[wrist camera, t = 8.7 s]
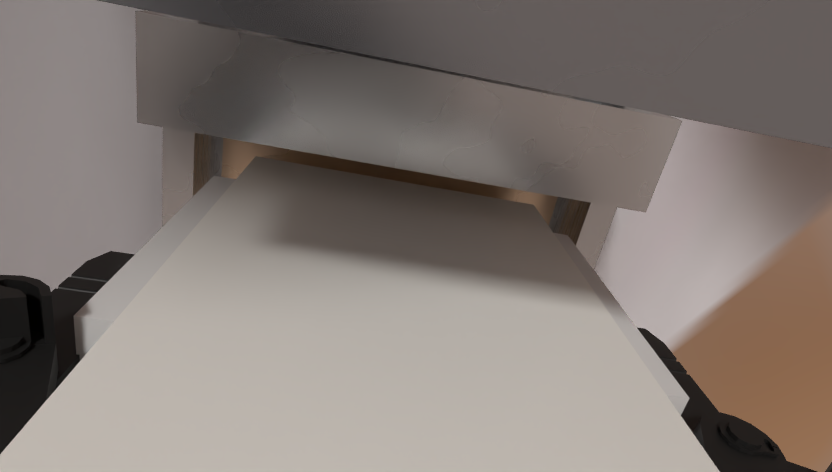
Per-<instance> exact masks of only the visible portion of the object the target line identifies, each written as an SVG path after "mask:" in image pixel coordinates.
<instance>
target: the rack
mask: <svg viewBox="0 0 832 472" xmlns="http://www.w3.org/2000/svg"><path fill="white" fill-rule="evenodd" d="M99 1H103V2H108V3H113V4H118V5H123V6H128V7H133V8H138V9H143V10H148V11H135V14H136V78H137V123H143V124H149V125H154V126H160V127H163V192H162V227H163V226H164V225H165V224H166V223H167V222H168V221H169V220H170V219H171V218H172V217H173V216H174V215H175V214H176V213H177V212H178V211H179V210H180V209H181V208H182V207H183V206H184V205H185V204H186V203H187V202H188V201H189V200H190V199H191V198H192V197H193V196H194V195H195V194H196V193H197V192H198V191H199V190H200V189H201V188H202V187H203V186H204V185H205V184H206V183H207V182H208V181H209V180H210V179H211V178H212V177H213V176H219V177H225V178H231V179H237V177H238V176H239V175H240V174H241V173H242V172H243V170H244V169H245V168H246V167H247V166H248V165H249V163H250V162H251V161H252V160H253V159H254V158H255V156H257V157H263V158H269V159H275V160H280V161H286V162H292V163H298V164H303V165H309V166H315V167H320V168H326V169H332V170H338V171H343V172H349V173H355V174H361V175H366V176H372V177H378V178H384V179H389V180H395V181H401V182H406V183H412V184H418V185H424V186H429V187H435V188H441V189H447V190H452V191H458V192H464V193H470V194H475V195H481V196H487V197H493V198H498V199H504V200H510V201H515V202H521V203H527V204H533V205H534V206H535V207H536V209H537V210H538V211H539V213H540V214H541V216H542V217H543V219H544V220H545V221H546V223H547V224H548V226H549V227H550V229H551V230H552V232H553V233H558V234H564V235H568V236H569V238H570V239H571V240H572V242H573V243H574V244H575V246H576V247H577V248H578V250H579V251H580V252H581V254H582V255H583V256H584V258H585V259H586V260H587V262H588V263H589V264H590V266H591V267H592V269H593V270H594V268H595V265H596V262H597V260H598V257H599V254H600V252H601V249H602V246H603V244H604V241H605V238H606V236H607V233H608V230H609V228H610V225H611V222H612V220H613V217H614V214H615V212H616V209H617V207H619V208H624V209H630V210H636V211H641V212H646V211H647V208H648V206H649V203H650V201H651V198H652V196H653V193H654V191H655V188H656V185H657V183H658V180H659V178H660V175H661V173H662V170H663V168H664V165H665V163H666V160H667V158H668V155H669V153H670V150H671V148H672V145H673V143H674V140H675V138H676V135H677V133H678V130H679V128H680V125H681V123H682V121H681V120H679V119H677V118H674V117H672V116H675V117H680V118H685V119H690V120H695V121H699V122H704V123H709V124H714V125H719V126H724V127H729V128H734V129H739V130H744V131H749V132H754V133H759V134H764V135H769V136H774V137H779V138H784V139H789V140H794V141H799V142H804V143H809V144H814V145H819V146H824V147H829V148H832V0H99ZM669 115H670V116H669Z"/></svg>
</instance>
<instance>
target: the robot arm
mask: <svg viewBox="0 0 832 472" xmlns="http://www.w3.org/2000/svg"><path fill="white" fill-rule="evenodd" d="M235 180H236V179H231V178H225V177H219V176H213V177H212V178H211V179H210V180H209V181H208V182H207V183H206V184H205V185H204V186H203V187H202V188H201V189H200V190H199V191H198V192H197V193H196V194H195V195H194V196H193V197H192V198H191V199H190V200H189V201H188V202H187V203H186V204H185V205H184V206H183V207H182V208H181V209H180V210H179V211H178V212H177V213H176V214H175V215H174V216H173V217H172V218H171V219H170V220H169V221H168V222H167V223H166V224H165V225H164V226H163V227H162V228H161V229H160V230H159V231H158V232H157V233H156V234H155V235H154V236H153V237H152V238H151V239H150V240H149V241H148V242H147V243H146V244H145V245H144V246H143V247H142V248H141V249H140V250H139V251H138V252H137V253H136V254H135V255H134V254H127V253H120V252H113V251H110V252H108V253H105V254H103V255H101V256H98V257H96V258H93V259H91V260H88V261H87V262H85V263H84V264H83V265H82V266H81V267H80V268H78V269H77V270H76V271H75V272H74V273H73V274H72V276H71V277H68V278H67V279H66V280H65V281H63V282H62V283H61V284H60V285H59V287H58V289H54V290H53V291H52V292H51V291H50V287H49V286H48V285H46V284H45V283H43V282H42V281H40V280H38V279H34V278H30V277H26V276H15V275H0V454H1V453H2V452H3V450H4V449H5V448H6V447H7V446H8V445H9V443H10V442H11V441H12V440H13V439H14V438H15V436H16V435H17V434H18V433H19V432H20V431H21V429H22V428H23V427H24V426H25V425H26V424H27V422H28V421H29V420H30V419H31V418H32V417H33V415H34V414H35V413H36V412H37V411H38V410H39V408H40V407H41V406H42V405H43V404H44V403H45V401H46V400H47V399H48V398H49V397H50V396H51V394H52V393H53V392H54V391H55V390H56V389H57V387H58V386H59V385H60V384H61V383H62V382H63V380H64V379H65V378H66V377H67V376H68V375H69V373H70V372H71V371H72V370H73V369H74V368H75V366H76V365H77V364H78V363H79V362H80V361H81V359H82V358H83V357H84V356H85V355H86V354H87V352H88V351H89V350H90V349H91V348H92V347H93V345H94V344H95V343H96V342H97V341H98V340H99V338H100V337H101V336H102V335H103V334H104V333H105V331H106V330H107V329H108V328H109V327H110V326H111V324H112V323H113V322H114V321H115V320H116V319H117V317H118V316H119V315H120V314H121V313H122V312H123V310H124V309H125V308H126V307H127V306H128V305H129V303H130V302H131V301H132V300H133V299H134V298H135V296H136V295H137V294H138V293H139V292H140V291H141V289H142V288H143V287H144V286H145V285H146V284H147V282H148V281H149V280H150V279H151V278H152V277H153V275H154V274H155V273H156V272H157V271H158V270H159V268H160V267H161V266H162V265H163V264H164V263H165V261H166V260H167V259H168V258H169V257H170V256H171V254H172V253H173V252H174V251H175V250H176V249H177V247H178V246H179V245H180V244H181V243H182V242H183V240H184V239H185V238H186V237H187V236H188V235H189V233H190V232H191V231H192V230H193V229H194V228H195V226H196V225H197V224H198V223H199V222H200V221H201V219H202V218H203V217H204V216H205V215H206V214H207V212H208V211H209V210H210V209H211V208H212V207H213V205H214V204H215V203H216V202H217V201H218V200H219V198H220V197H221V196H222V195H223V194H224V193H225V191H226V190H227V189H228V188H229V187H230V186H231V184H232V183H233V182H234V181H235ZM554 234H555V236H556V237H557V239H558V240H559V242H560V243H561V244H562V246H563V247H564V249H565V250H566V252H567V253H568V255H569V256H570V257H571V259H572V260H573V262H574V263H575V265H576V266H577V267H578V269H579V270H580V272H581V273H582V275H583V276H584V277H585V279H586V280H587V282H588V283H589V285H590V286H591V288H592V289H593V290H594V292H595V293H596V295H597V296H598V298H599V299H600V300H601V302H602V303H603V305H604V306H605V308H606V309H607V311H608V312H609V313H610V315H611V316H612V318H613V319H614V321H615V322H616V323H617V325H618V326H619V328H620V329H621V331H622V332H623V333H624V335H625V336H626V338H627V339H628V341H629V342H630V344H631V345H632V346H633V348H634V349H635V351H636V352H637V354H638V355H639V356H640V358H641V359H642V361H643V362H644V364H645V365H646V367H647V368H648V369H649V371H650V372H651V374H652V375H653V377H654V378H655V379H656V381H657V382H658V384H659V385H660V387H661V388H662V389H663V391H664V392H665V394H666V395H667V397H668V398H669V400H670V401H671V402H672V404H673V405H674V407H675V408H676V410H677V411H678V412H679V414H680V415H681V417H682V418H683V420H684V421H685V423H686V424H687V425H688V427H689V428H690V430H691V431H692V433H693V434H694V435H695V437H696V438H697V440H698V441H699V443H700V444H701V445H702V447H703V448H704V450H705V451H706V453H707V454H708V456H709V457H710V458H711V460H712V461H713V463H714V464H715V466H716V467H717V468H718V470H719V471H720V472H817V471H814V470H811V469H808V468H805V467H802V466H800V465H797V464H794V463H791V462H788V461H786V459H785V457H784V455H783V453H782V452H781V450H780V449H779V447H778V445H777V444H775V443H774V442H773V441H772V440H771V439H770V438H769V437H768V436H767V435H766V434H765V433H763V432H762V431H760V430H759V429H757V428H756V427H754V426H753V425H752V424H750V423H748V422H746V421H743V420H741V419H739V418H737V417H735V416H731V415H727V414H724V413H719V412H718V410H717V409H716V408H715V407H714V405H713V404H712V403H711V401H710V400H709V399H708V398H707V396H706V395H705V394H704V393H703V391H702V390H701V389H700V388H699V386H698V385H697V384H696V383H695V381H694V380H693V379H692V378H691V376H690V375H687V374H686V372H687V371H686V370H685V369H684V368H683V366H682V365H681V364H680V362H676V357H675V356H674V355H673V354H672V352H671V351H670V350H669V349H668V347H667V346H666V345H665V344H664V343H663V342H662V341H661V340H659V339H658V338H657V337H655V336H654V335H653V334H651V333H650V332H649V331H648V330H646V329H643V328H637V327H636V326H635V325H634V323H633V322H632V321H631V319H630V318H629V317H628V315H627V314H626V313H625V311H624V310H623V309H622V307H621V306H620V305H619V303H618V302H617V301H616V299H615V298H614V297H613V295H612V294H611V293H610V291H609V290H608V289H607V287H606V286H605V285H604V283H603V282H602V281H601V279H600V278H599V277H598V275H597V274H596V273H595V271H594V270H593V269H592V267H591V266H590V264H589V263H588V262H587V260H586V259H585V258H584V256H583V255H582V254H581V252H580V251H579V250H578V248H577V247H576V246H575V244H574V243H573V242H572V240H571V239H570V238H569V236H568V235H564V234H558V233H554ZM825 472H832V463H831V464H830V465H829V467H828V468H827V470H826V471H825Z"/></svg>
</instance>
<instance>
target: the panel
mask: <svg viewBox="0 0 832 472" xmlns="http://www.w3.org/2000/svg"><path fill="white" fill-rule="evenodd" d="M0 472H720V471H719V470H718V468H717V467H716V466H715V464H714V463H713V461H712V460H711V458H710V457H709V456H708V454H707V453H706V451H705V450H704V448H703V447H702V445H701V444H700V443H699V441H698V440H697V438H696V437H695V435H694V434H693V433H692V431H691V430H690V428H689V427H688V425H687V424H686V423H685V421H684V420H683V418H682V417H681V415H680V414H679V412H678V411H677V410H676V408H675V407H674V405H673V404H672V402H671V401H670V400H669V398H668V397H667V395H666V394H665V392H664V391H663V389H662V388H661V387H660V385H659V384H658V382H657V381H656V379H655V378H654V377H653V375H652V374H651V372H650V371H649V369H648V368H647V367H646V365H645V364H644V362H643V361H642V359H641V358H640V356H639V355H638V354H637V352H636V351H635V349H634V348H633V346H632V345H631V344H630V342H629V341H628V339H627V338H626V336H625V335H624V333H623V332H622V331H621V329H620V328H619V326H618V325H617V323H616V322H615V321H614V319H613V318H612V316H611V315H610V313H609V312H608V311H607V309H606V308H605V306H604V305H603V303H602V302H601V300H600V299H599V298H598V296H597V295H596V293H595V292H594V290H593V289H592V288H591V286H590V285H589V283H588V282H587V280H586V279H585V277H584V276H583V275H582V273H581V272H580V270H579V269H578V267H577V266H576V265H575V263H574V262H573V260H572V259H571V257H570V256H569V255H568V253H567V252H566V250H565V249H564V247H563V246H562V244H561V243H560V242H559V240H558V239H557V237H556V236H555V234H554V233H553V232H552V230H551V229H550V227H549V226H548V224H547V223H546V221H545V220H544V219H543V217H542V216H541V214H540V213H539V211H538V210H537V209H536V207H535V206H534V205H533V204H527V203H521V202H515V201H510V200H504V199H498V198H493V197H487V196H481V195H475V194H470V193H464V192H458V191H452V190H447V189H441V188H435V187H429V186H424V185H418V184H412V183H406V182H401V181H395V180H389V179H384V178H378V177H372V176H366V175H361V174H355V173H349V172H343V171H338V170H332V169H326V168H320V167H315V166H309V165H303V164H298V163H292V162H286V161H280V160H275V159H269V158H263V157H257V156H255V158H254V159H253V160H252V161H251V162H250V163H249V165H248V166H247V167H246V168H245V169H244V170H243V172H242V173H241V174H240V175H239V176H238V177H237V179H236V180H235V181H234V182H233V183H232V184H231V186H230V187H229V188H228V189H227V190H226V191H225V193H224V194H223V195H222V196H221V197H220V198H219V200H218V201H217V202H216V203H215V204H214V205H213V207H212V208H211V209H210V210H209V211H208V212H207V214H206V215H205V216H204V217H203V218H202V219H201V221H200V222H199V223H198V224H197V225H196V226H195V228H194V229H193V230H192V231H191V232H190V233H189V235H188V236H187V237H186V238H185V239H184V240H183V242H182V243H181V244H180V245H179V246H178V247H177V249H176V250H175V251H174V252H173V253H172V254H171V256H170V257H169V258H168V259H167V260H166V261H165V263H164V264H163V265H162V266H161V267H160V268H159V270H158V271H157V272H156V273H155V274H154V275H153V277H152V278H151V279H150V280H149V281H148V282H147V284H146V285H145V286H144V287H143V288H142V289H141V291H140V292H139V293H138V294H137V295H136V296H135V298H134V299H133V300H132V301H131V302H130V303H129V305H128V306H127V307H126V308H125V309H124V310H123V312H122V313H121V314H120V315H119V316H118V317H117V319H116V320H115V321H114V322H113V323H112V324H111V326H110V327H109V328H108V329H107V330H106V331H105V333H104V334H103V335H102V336H101V337H100V338H99V340H98V341H97V342H96V343H95V344H94V345H93V347H92V348H91V349H90V350H89V351H88V352H87V354H86V355H85V356H84V357H83V358H82V359H81V361H80V362H79V363H78V364H77V365H76V366H75V368H74V369H73V370H72V371H71V372H70V373H69V375H68V376H67V377H66V378H65V379H64V380H63V382H62V383H61V384H60V385H59V386H58V387H57V389H56V390H55V391H54V392H53V393H52V394H51V396H50V397H49V398H48V399H47V400H46V401H45V403H44V404H43V405H42V406H41V407H40V408H39V410H38V411H37V412H36V413H35V414H34V415H33V417H32V418H31V419H30V420H29V421H28V422H27V424H26V425H25V426H24V427H23V428H22V429H21V431H20V432H19V433H18V434H17V435H16V436H15V438H14V439H13V440H12V441H11V442H10V443H9V445H8V446H7V447H6V448H5V449H4V450H3V452H2V453H1V454H0Z"/></svg>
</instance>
